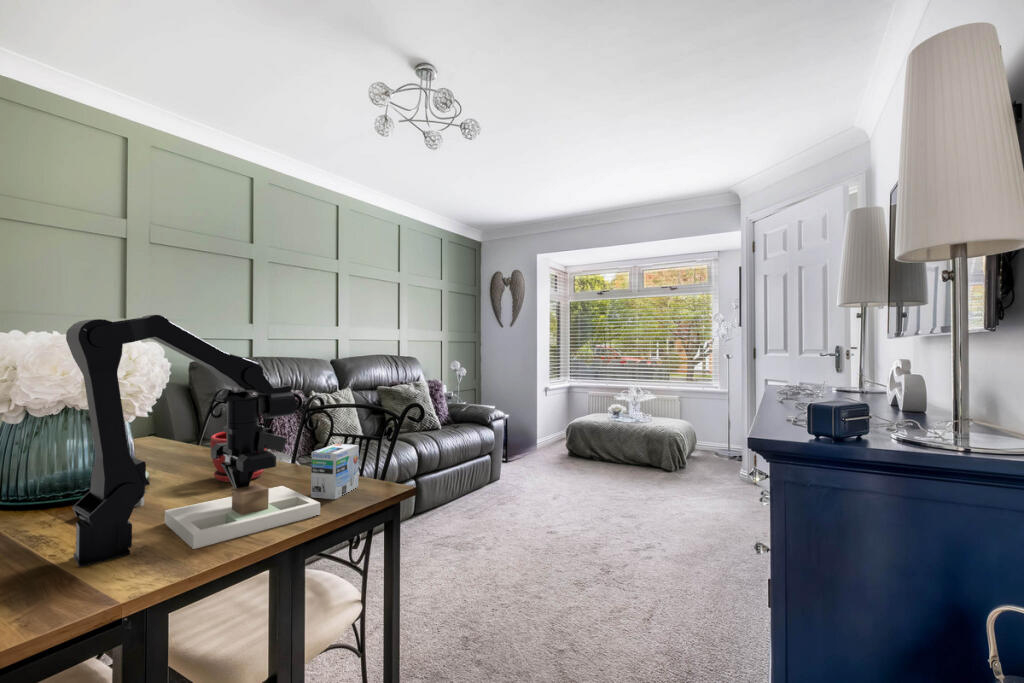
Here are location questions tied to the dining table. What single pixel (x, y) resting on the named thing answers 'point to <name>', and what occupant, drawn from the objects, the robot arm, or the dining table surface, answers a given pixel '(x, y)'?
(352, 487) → the light bulb box
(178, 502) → the dining table surface
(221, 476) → the plant pot
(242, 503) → the walnut block
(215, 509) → the tray
